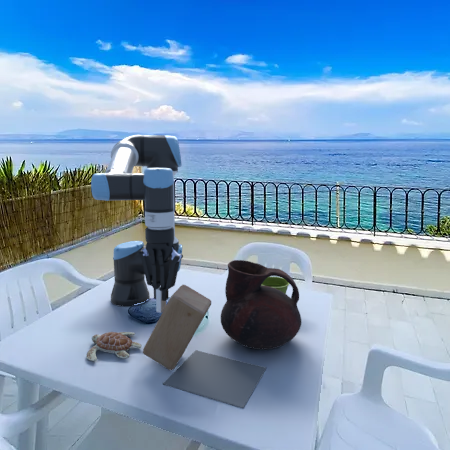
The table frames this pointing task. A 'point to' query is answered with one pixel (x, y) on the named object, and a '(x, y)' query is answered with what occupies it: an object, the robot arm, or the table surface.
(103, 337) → the decorative turtle
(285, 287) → the plant pot
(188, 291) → the wooden block
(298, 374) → the table surface
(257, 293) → the jug
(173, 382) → the mat
